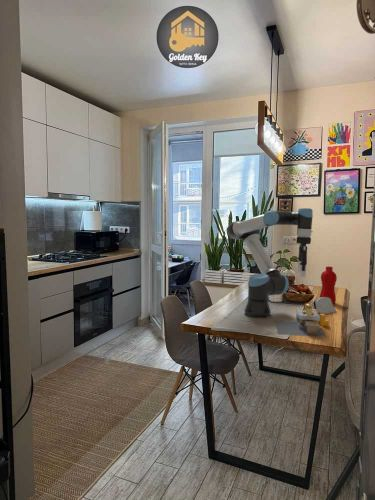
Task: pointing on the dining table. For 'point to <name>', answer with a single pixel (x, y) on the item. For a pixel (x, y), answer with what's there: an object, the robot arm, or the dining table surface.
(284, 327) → the mat
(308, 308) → the brass pin
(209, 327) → the dining table surface
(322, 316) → the pipe clamp
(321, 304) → the grey rounded block
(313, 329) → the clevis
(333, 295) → the water bottle
